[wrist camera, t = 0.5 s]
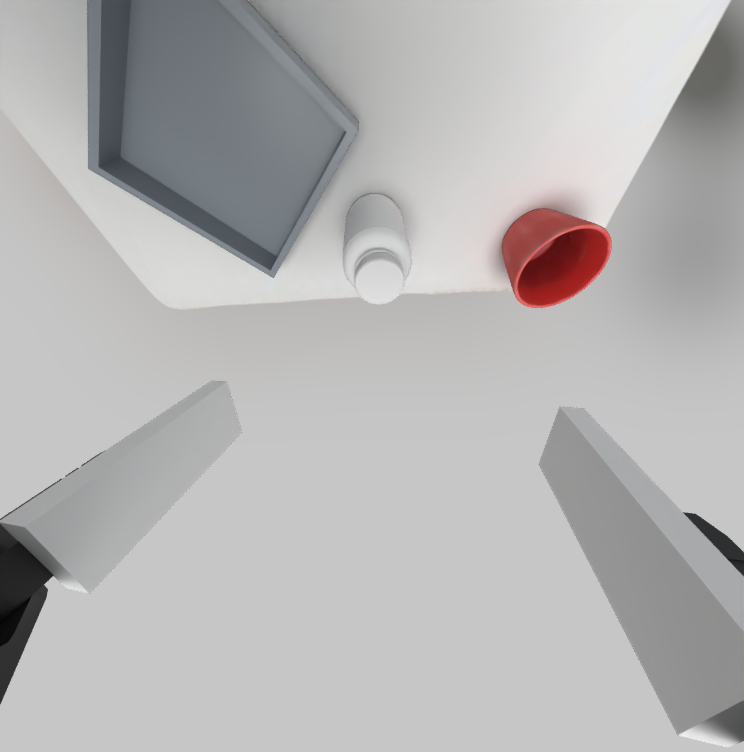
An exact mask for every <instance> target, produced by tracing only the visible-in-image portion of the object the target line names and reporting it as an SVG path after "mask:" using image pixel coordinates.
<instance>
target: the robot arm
mask: <svg viewBox="0 0 744 752" xmlns="http://www.w3.org/2000/svg"><path fill="white" fill-rule="evenodd" d="M241 433H242V429H241V426H240V422H239V419H238V416H237V412H236V409H235V406H234V403H233V399H232V396H231V393H230V389H229V386H228V383H227V382H225V381H210V382H209V383H207V384H206V385H204V386H202V387H201V388H200V389H198V390H196V391H195V392H193V393H192V394H190V395H189V396H187V397H186V398H184V399H183V400H181V401H180V402H178V403H177V404H175V405H174V406H172V407H171V408H169V409H168V410H166V411H165V412H163V413H162V414H160V415H159V416H157V417H156V418H154V419H153V420H151V421H150V422H148V423H147V424H145V425H144V426H142V427H141V428H139V429H138V430H136V431H134V432H133V433H131V434H130V435H129V436H127V437H125V438H124V439H122V440H121V441H119V442H118V443H116V444H115V445H113V446H112V447H111V448H109V449H107V450H106V451H104V452H102V453H100V454H98V455H97V456H95V457H93V458H92V459H91V460H89V461H87V462H86V463H84V464H83V465H82V466H81V467H80V468H77V469H75V470H74V471H72V472H71V473H69V474H68V475H66V477H65V478H63V479H60V480H59V481H57V482H56V483H54V484H52V485H51V486H49V487H48V488H46V489H45V490H43V491H42V492H40V493H39V494H37V495H36V496H34V497H33V498H31V499H30V500H28V501H27V502H25V503H24V504H22V505H21V506H19V507H18V508H16V509H15V510H13V511H12V512H10V513H8V514H7V515H5V516H4V517H3V518H1V519H0V704H1V702H2V699H3V697H4V695H5V692H6V690H7V688H8V685H9V683H10V681H11V678H12V676H13V674H14V671H15V669H16V667H17V665H18V662H19V660H20V658H21V655H22V653H23V651H24V648H25V646H26V643H27V641H28V639H29V637H30V634H31V632H32V630H33V627H34V625H35V623H36V620H37V618H38V616H39V613H40V611H41V609H42V606H43V604H44V602H45V600H46V597H47V591H48V589H47V588H46V587H45V585H44V584H45V583H46V582H47V581H48V580H49V579H50V578H51V577H52V576H54V577H55V578H56V579H57V580H59V582H61V583H62V584H63V585H64V586H65V587H66V588H68V589H72V590H76V591H80V592H85V593H89V594H90V593H91V592H92V591H93V590H94V589H95V588H96V587H97V586H98V585H99V583H100V582H101V581H102V580H103V579H104V578H105V577H106V576H107V575H108V574H109V573H110V572H111V571H112V570H113V569H114V568H115V567H116V565H117V564H118V563H119V562H120V561H121V560H122V559H123V558H124V557H125V556H126V555H127V554H128V553H129V552H130V551H131V550H132V549H133V547H134V546H135V545H136V544H137V543H138V542H139V541H140V540H141V539H142V538H143V537H144V536H145V535H146V534H147V533H148V532H149V531H150V529H151V528H152V527H153V526H154V525H155V524H156V523H157V522H158V521H159V520H160V519H161V518H162V517H163V516H164V515H165V514H166V513H167V511H168V510H169V509H170V508H171V507H172V506H173V505H174V504H175V503H176V502H177V501H178V500H179V499H180V498H181V497H182V496H183V495H184V493H185V492H186V491H187V490H188V489H189V488H190V487H191V486H192V485H193V484H194V483H195V482H196V481H197V480H198V479H199V477H201V475H202V474H203V473H204V472H205V471H206V470H207V469H208V468H209V467H210V466H211V465H212V464H213V463H214V462H215V461H216V460H217V458H218V457H219V456H220V455H221V454H222V453H223V452H224V451H225V450H226V449H227V448H228V447H229V446H230V445H231V444H232V443H233V442H234V441H235V439H236V438H237V437H238V436H239V435H240V434H241ZM539 465H540V468H541V469H542V472H543V473H544V475H545V477H546V479H547V481H548V483H549V485H550V487H551V489H552V491H553V493H554V495H555V497H556V499H557V501H558V503H559V505H560V507H561V509H562V511H563V512H564V514H565V516H566V518H567V520H568V522H569V524H570V526H571V528H572V530H573V532H574V534H575V536H576V538H577V540H578V542H579V544H580V546H581V548H582V550H583V552H584V553H585V555H586V557H587V559H588V561H589V563H590V565H591V567H592V569H593V571H594V573H595V575H596V577H597V579H598V581H599V583H600V584H601V587H602V588H603V590H604V592H605V594H606V596H607V598H608V600H609V602H610V604H611V606H612V608H613V610H614V612H615V614H616V616H617V618H618V619H619V622H620V624H621V626H622V628H623V630H624V631H625V633H626V635H627V637H628V639H629V641H630V643H631V645H632V647H633V649H634V651H635V653H636V655H637V657H638V659H639V661H640V663H641V665H642V667H643V669H644V671H645V672H646V674H647V676H648V678H649V680H650V682H651V684H652V686H653V688H654V690H655V692H656V694H657V696H658V698H659V700H660V702H661V704H662V706H663V708H664V710H665V711H666V713H667V715H668V717H669V719H670V721H671V723H672V725H673V727H674V729H675V731H676V733H677V735H679V736H683V737H687V738H692V739H695V740H700V741H704V742H708V743H712V744H716V745H721V746H725V747H731V746H733V745H735V744H737V743H740V742H742V741H744V552H743V551H742V550H741V549H740V548H739V547H738V546H737V545H736V544H735V543H734V542H733V541H732V540H731V539H730V538H728V536H726V535H725V534H723V533H722V532H721V531H719V530H718V529H716V528H715V527H714V526H712V525H711V524H709V523H708V522H706V521H705V520H704V519H702V518H701V517H699V516H698V515H696V514H692V513H684V512H682V511H681V510H680V509H679V508H678V507H677V506H676V505H675V504H674V503H673V502H672V501H671V500H670V499H669V498H668V496H667V495H666V494H665V493H664V492H663V491H662V490H661V489H660V488H659V487H658V486H657V485H656V484H655V483H654V482H653V481H652V480H651V479H650V477H649V476H648V475H647V474H646V473H645V472H644V471H643V470H642V469H641V468H640V467H639V466H638V465H637V464H636V463H635V462H634V461H633V460H632V459H631V458H630V456H629V455H627V453H625V451H624V450H623V449H622V448H621V447H620V446H619V445H618V444H617V443H616V442H615V441H614V440H613V439H612V437H611V436H610V435H609V434H607V432H605V430H604V429H603V428H602V427H601V426H600V425H599V424H598V423H597V422H596V421H595V420H594V419H593V418H592V417H591V415H590V414H589V413H588V412H587V411H586V410H585V409H584V408H573V407H572V408H571V407H559V410H558V413H557V415H556V418H555V421H554V423H553V426H552V429H551V432H550V434H549V437H548V440H547V443H546V445H545V448H544V451H543V454H542V456H541V459H540V462H539Z"/></svg>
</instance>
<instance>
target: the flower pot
mask: <svg viewBox="0 0 744 752" xmlns="http://www.w3.org/2000/svg"><path fill="white" fill-rule="evenodd" d="M611 248H612V242H611V237H610V235H609V233H608V232H607V230H606V229H605V228H603V227H602V226H600V225H597V224H594V223H592V222H589V221H586V220H583V219H580V218H577V217H574V216H571V215H568V214H564V213H561V212H557V211H554V210H550V209H536V210H533V211H531V212H528V213H526V214H525V215H523V216H522V217H520V218H519V219H518V220H517V221H516V222H515V223H514V224H513V225H512V226H511V227H510V228H509V230H508V231H507V233H506V235H505V237H504V240H503V244H502V253H503V256H504V261H505V265H506V269H507V272H508V276H509V279H510V282H511V285H512V288H513V291H514V294H515V296H516V298H517V300H518V301H519V302H520V303H522V304H523V305H525V306H528V307H532V308H543V307H549V306H553V305H556V304H559V303H561V302H564V301H566V300H568V299H570V298H571V297H573V296H575V295H576V294H578V293H579V292H581V291H582V290H583V289H585V288H586V287H587V286H588V285H589V284H590V283H591V282H592V281H593V280H594V279H595V278H596V277H597V276H598V275H599V274H600V272H601V271H602V270H603V268H604V267H605V265H606V263H607V261H608V259H609V256H610V253H611Z"/></svg>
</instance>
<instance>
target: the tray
mask: <svg viewBox="0 0 744 752" xmlns="http://www.w3.org/2000/svg"><path fill="white" fill-rule="evenodd" d="M87 38H88V169H90V170H91V171H93V172H95V173H96V174H98V175H100V176H102V177H103V178H105V179H107V180H108V181H110V182H112V183H113V184H115V185H117V186H118V187H120V188H122V189H124V190H125V191H127V192H129V193H130V194H132V195H134V196H135V197H137V198H139V199H140V200H142V201H144V202H146V203H147V204H149V205H151V206H152V207H154V208H156V209H157V210H159V211H161V212H162V213H164V214H166V215H168V216H169V217H171V218H173V219H174V220H176V221H178V222H179V223H181V224H183V225H184V226H186V227H188V228H190V229H191V230H193V231H195V232H196V233H198V234H200V235H201V236H203V237H205V238H206V239H208V240H210V241H212V242H213V243H215V244H217V245H218V246H220V247H222V248H223V249H225V250H227V251H229V252H230V253H232V254H234V255H235V256H237V257H239V258H240V259H242V260H244V261H245V262H247V263H249V264H251V265H252V266H254V267H256V268H257V269H259V270H261V271H262V272H264V273H266V274H267V275H269V276H271V277H273V278H274V277H275V275H276V273H277V271H278V270H279V268H280V266H281V264H282V263H283V261H284V259H285V257H286V256H287V254H288V252H289V250H290V249H291V247H292V245H293V244H294V242H295V240H296V238H297V237H298V235H299V233H300V231H301V230H302V228H303V226H304V224H305V223H306V221H307V219H308V217H309V216H310V214H311V212H312V210H313V209H314V207H315V205H316V204H317V202H318V200H319V198H320V197H321V195H322V193H323V191H324V190H325V188H326V186H327V184H328V183H329V181H330V179H331V177H332V176H333V174H334V172H335V170H336V169H337V167H338V165H339V164H340V162H341V160H342V158H343V157H344V155H345V153H346V151H347V150H348V148H349V146H350V144H351V143H352V141H353V139H354V137H355V136H356V134H357V132H358V127H359V121H358V120H357V119H356V118H355V117H354V116H353V115H352V114H351V113H350V111H349V110H348V109H347V108H346V107H345V106H344V105H343V104H342V103H341V102H340V101H339V100H338V98H337V97H336V96H335V95H334V94H333V93H332V92H331V91H330V90H329V89H328V88H327V86H326V85H325V84H324V83H323V82H322V81H321V80H320V79H319V78H318V77H317V76H316V75H315V73H314V72H313V71H312V70H311V69H310V68H309V67H308V66H307V65H306V64H305V63H304V62H303V60H302V59H301V58H300V57H299V56H298V55H297V54H296V53H295V52H294V51H293V50H292V48H291V47H290V46H289V45H288V44H287V43H286V42H285V41H284V40H283V39H282V38H281V37H280V35H279V34H278V33H277V32H276V31H275V30H274V29H273V28H272V27H271V26H270V25H269V23H268V22H267V21H266V20H265V19H264V18H263V17H262V16H261V15H260V14H259V13H258V12H257V10H256V9H255V8H254V7H253V6H252V5H251V4H250V3H249V2H248V1H247V0H87Z"/></svg>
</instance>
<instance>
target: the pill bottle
mask: <svg viewBox="0 0 744 752" xmlns="http://www.w3.org/2000/svg"><path fill="white" fill-rule="evenodd" d="M411 265H412V255H411V250H410V246H409V242H408V238H407V234H406V230H405V226H404V222H403V218H402V215H401V212H400V210H399V208H398V207H397V205H396V204H395V203H394V202H393V201H392V200H391V199H390V198H388V197H386V196H384V195H381V194H368V195H365V196H363V197H361V198H360V199H358V200H357V201H356V202H355V203H354V204H353V205H352V207H351V208H350V210H349V212H348V215H347V218H346V225H345V236H344V247H343V270H344V273H345V275H346V277H347V279H348V281H349V282H350V283H351V285H352V286H353V287H354V288H355V289H356V292H357V293H358V295H359V296H360V297H361V298H362V299H363V300H365V301H367V302H369V303H372V304H385V303H389V302H391V301H392V300H394V299H395V298H397V297H398V296H399V295H400V293H401V291H402V290H403V287H404V284H405V283H404V282H405V280H406V279H407V277H408V275H409V272H410V269H411Z"/></svg>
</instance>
